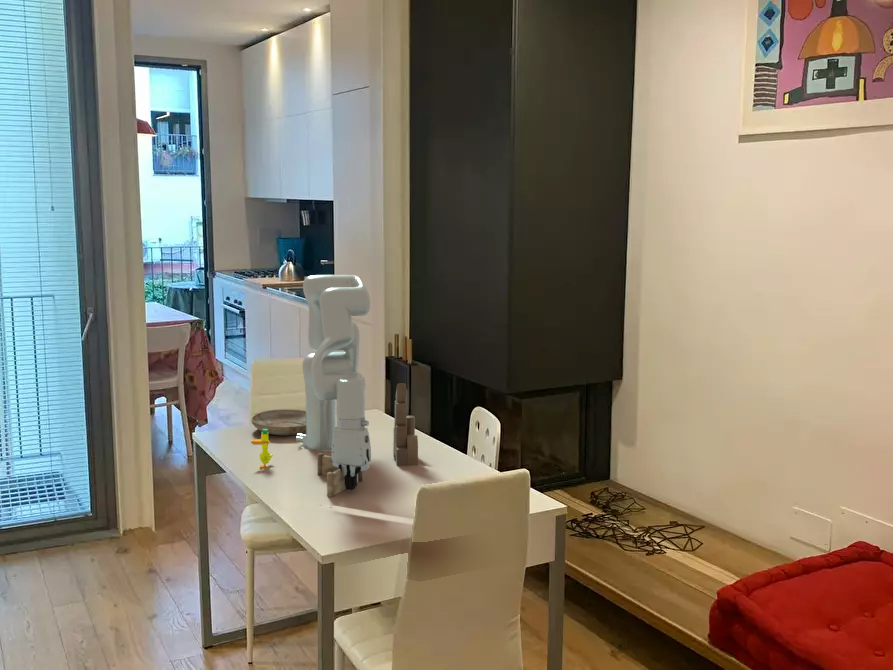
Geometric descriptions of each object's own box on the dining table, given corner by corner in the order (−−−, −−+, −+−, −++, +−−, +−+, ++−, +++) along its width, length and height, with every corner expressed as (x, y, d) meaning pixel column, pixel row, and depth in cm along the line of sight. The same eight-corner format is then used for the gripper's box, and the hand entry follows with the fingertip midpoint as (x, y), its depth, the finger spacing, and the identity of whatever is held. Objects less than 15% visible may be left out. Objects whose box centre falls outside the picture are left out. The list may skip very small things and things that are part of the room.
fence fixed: (316, 475, 253) (316, 453, 252) (319, 473, 254) (319, 451, 253) (360, 482, 247) (360, 459, 246) (363, 480, 249) (363, 457, 248)
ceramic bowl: (259, 443, 287) (259, 428, 286) (245, 425, 309) (245, 411, 308) (327, 436, 296) (327, 422, 296) (309, 419, 318) (309, 406, 317)
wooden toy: (418, 469, 263) (420, 388, 259) (396, 470, 263) (397, 388, 258) (413, 454, 279) (415, 377, 274) (392, 454, 278) (393, 377, 274)
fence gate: (354, 481, 248) (354, 459, 247) (359, 482, 247) (359, 460, 246) (325, 496, 235) (325, 473, 234) (331, 497, 235) (331, 474, 233)
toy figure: (250, 470, 260) (250, 431, 258) (251, 466, 263) (250, 427, 261) (274, 469, 261) (273, 430, 259) (274, 465, 264) (273, 427, 262)
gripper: (381, 422, 236) (381, 488, 239) (332, 417, 242) (333, 481, 244) (369, 429, 229) (369, 496, 232) (319, 423, 235) (319, 489, 237)
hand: (350, 488), depth 238 cm, fingers closed
